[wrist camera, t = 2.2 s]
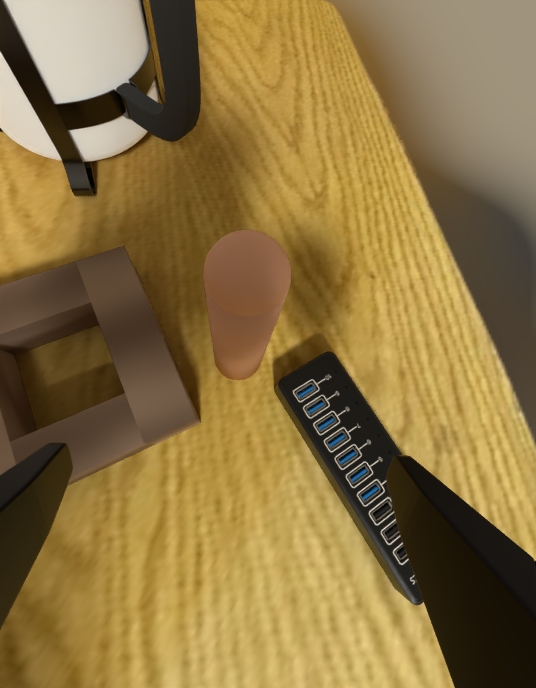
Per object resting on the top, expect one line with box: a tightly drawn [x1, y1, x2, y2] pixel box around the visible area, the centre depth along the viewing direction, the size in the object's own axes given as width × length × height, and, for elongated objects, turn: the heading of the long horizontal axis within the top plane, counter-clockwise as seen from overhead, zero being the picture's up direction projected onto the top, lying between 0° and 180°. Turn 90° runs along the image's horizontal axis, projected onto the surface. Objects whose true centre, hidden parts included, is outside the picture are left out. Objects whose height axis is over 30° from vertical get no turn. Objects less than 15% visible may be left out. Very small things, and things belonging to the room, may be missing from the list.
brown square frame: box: [0, 246, 201, 486], centre depth 20 cm, size 12×12×3 cm
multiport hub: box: [275, 352, 424, 605], centre depth 21 cm, size 4×14×2 cm, turn 32°
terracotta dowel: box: [203, 230, 291, 380], centre depth 17 cm, size 3×3×13 cm
